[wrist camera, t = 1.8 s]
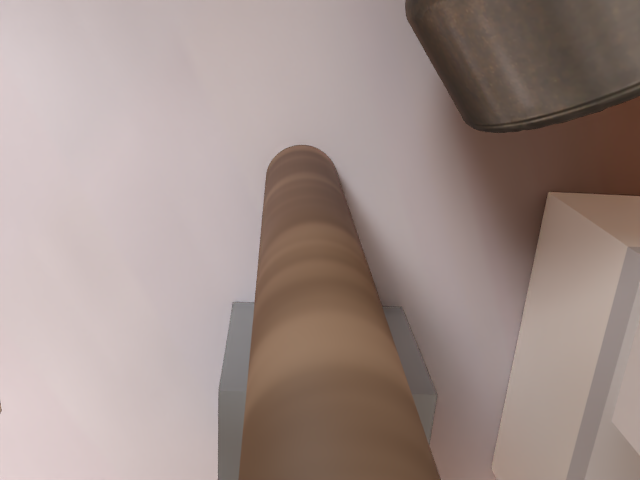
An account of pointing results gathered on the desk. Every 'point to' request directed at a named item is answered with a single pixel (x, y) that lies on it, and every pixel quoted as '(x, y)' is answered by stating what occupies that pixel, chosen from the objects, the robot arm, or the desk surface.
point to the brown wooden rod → (322, 344)
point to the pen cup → (237, 376)
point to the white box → (574, 345)
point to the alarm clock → (531, 57)
